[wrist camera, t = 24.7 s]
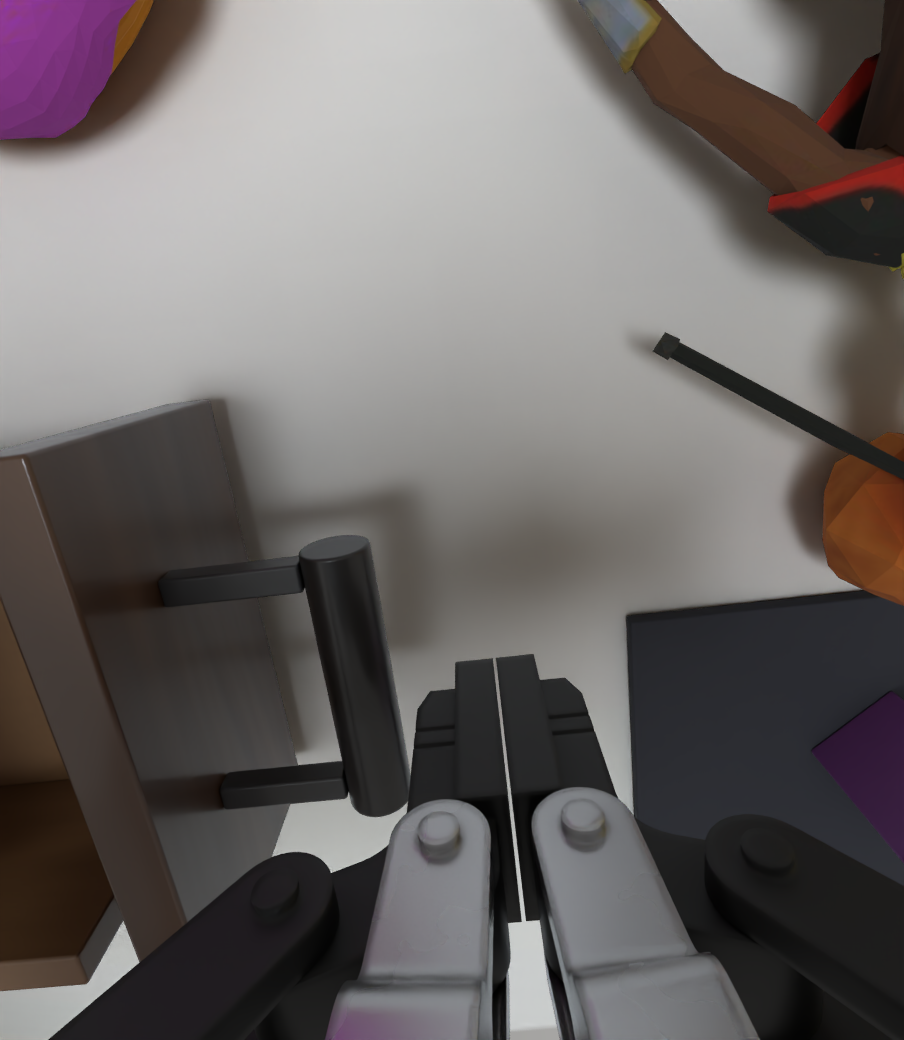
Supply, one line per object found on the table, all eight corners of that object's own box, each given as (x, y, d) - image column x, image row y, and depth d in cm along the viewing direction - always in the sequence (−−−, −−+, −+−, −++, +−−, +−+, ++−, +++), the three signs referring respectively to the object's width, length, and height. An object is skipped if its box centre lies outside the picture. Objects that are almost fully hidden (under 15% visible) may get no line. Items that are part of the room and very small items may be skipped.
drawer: (374, 377, 15) (311, 418, 9) (435, 762, 19) (423, 1000, 12) (-295, 462, 16) (-826, 559, 9) (-116, 815, 19) (-409, 1065, 13)
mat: (1102, 876, 21) (1117, 889, 20) (637, 916, 22) (641, 928, 21) (1187, 555, 17) (1208, 562, 17) (625, 615, 18) (630, 623, 18)
